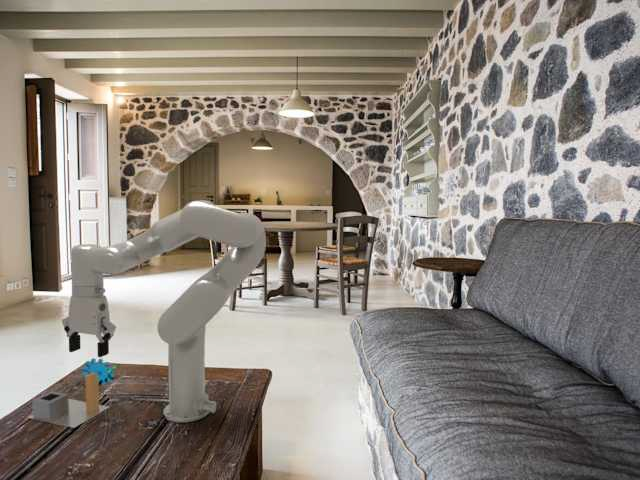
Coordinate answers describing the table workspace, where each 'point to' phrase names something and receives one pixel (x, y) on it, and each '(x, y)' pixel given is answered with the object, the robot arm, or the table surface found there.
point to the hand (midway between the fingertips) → (88, 353)
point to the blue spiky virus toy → (99, 370)
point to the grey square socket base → (61, 410)
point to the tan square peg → (92, 392)
